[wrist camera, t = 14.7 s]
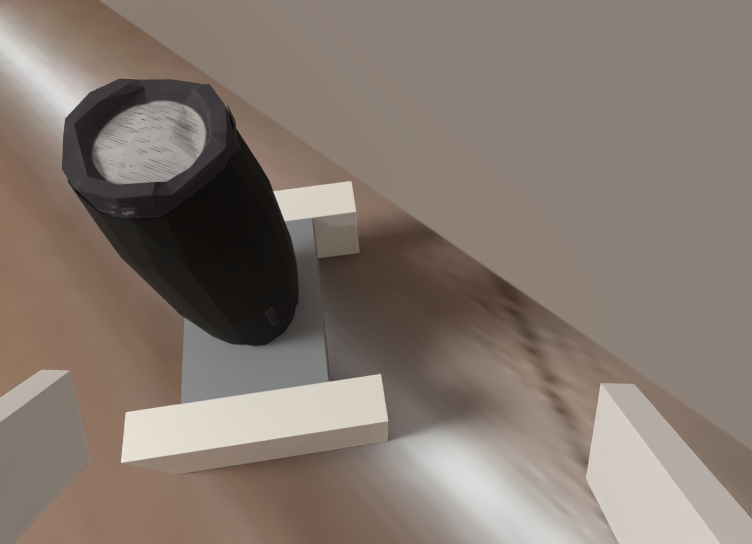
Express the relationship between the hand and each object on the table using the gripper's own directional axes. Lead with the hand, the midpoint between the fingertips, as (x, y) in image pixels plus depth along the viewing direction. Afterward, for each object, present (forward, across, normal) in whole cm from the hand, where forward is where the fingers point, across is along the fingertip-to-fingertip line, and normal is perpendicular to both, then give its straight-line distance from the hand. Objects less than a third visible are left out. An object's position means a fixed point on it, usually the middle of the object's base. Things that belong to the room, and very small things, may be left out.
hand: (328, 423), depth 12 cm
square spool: (+32, -11, -14) cm, 37 cm away
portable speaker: (+26, -11, -7) cm, 28 cm away
